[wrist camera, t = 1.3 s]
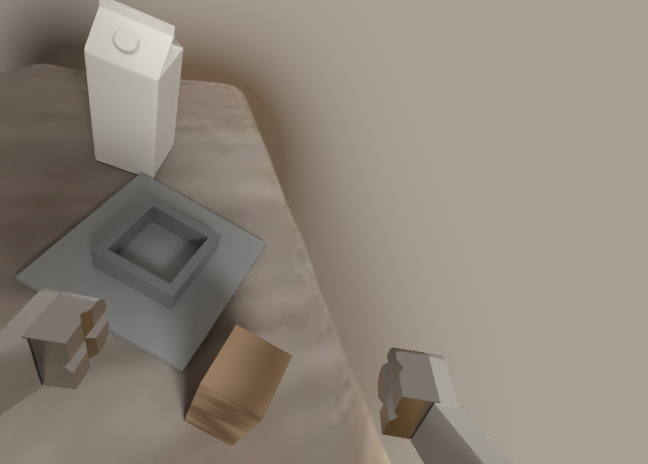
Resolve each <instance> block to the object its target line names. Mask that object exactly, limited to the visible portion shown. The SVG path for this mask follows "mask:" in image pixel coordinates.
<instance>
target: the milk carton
mask: <svg viewBox="0 0 648 464" xmlns="http://www.w3.org/2000/svg"><path fill="white" fill-rule="evenodd" d="M174 30H175V27H174V26H173V25H170V24H168V23H166V22H164V21H161V20H159V19H157V18H154V17H152V16H150V15H147V14H145V13H143V12H140V11H138V10H136V9H133V8H131V7H129V6H126V5H124V4H122V3H119V2H117V1H115V0H99V9H98V11H97V14H96V17H95V20H94V23H93V26H92V28H91V31H90V34H89V37H88V40H87V42H86V45H85V48H84V51H85V52H84V53H85V63H86V74H87V84H88V93H89V103H90V113H91V123H92V132H93V142H94V152H95V159H96V160H98V161H100V162H103V163H106V164H109V165H112V166H115V167H118V168H120V169H123V170H126V171H129V172H132V173H135V174H138V175H139V174H140V173H141V172H143V173H144V174H146V175H148V176H150V177H151V178H154V176H155V175H156V173H157V171H158V170H159V168H160V166H161V165H162V163H163V162H164V160H165V158H166V157H167V155H168V153H169V152H170V150H171V148H172V147H173V144H174V134H175V124H176V114H177V104H178V95H179V85H180V75H181V64H182V55H183V47H182V46H181V45H180V44H179V42H178V41H177V40H176V39H175V37H174Z"/></svg>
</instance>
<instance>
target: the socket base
mask: <svg viewBox="0 0 648 464" xmlns="http://www.w3.org/2000/svg"><path fill="white" fill-rule="evenodd" d="M266 245H267V243H265V242H264V241H262V240H260V239H258V238H257V237H255V236H253V235H251V234H250V233H248V232H246V231H244V230H243V229H241V228H239V227H237V226H236V225H234V224H232V223H230V222H229V221H227V220H225V219H223V218H222V217H220V216H218V215H216V214H215V213H213V212H211V211H209V210H207V209H206V208H204V207H202V206H200V205H199V204H197V203H195V202H193V201H192V200H190V199H188V198H186V197H185V196H183V195H181V194H179V193H178V192H176V191H174V190H172V189H171V188H169V187H167V186H165V185H164V184H162V183H160V182H158V181H157V180H155V179H153V178H151V177H150V176H148V175H146V174H144V173H143V172H141V173H140V174H139V175H137V176H136V177H135V178H134V179H133V180H131V181H130V182H129V183H128V184H127V185H125V186H124V187H123V188H122V189H120V190H119V191H118V192H117V193H116V194H114V195H113V196H112V197H111V198H110V199H108V200H107V201H106V202H105V203H104V204H102V205H101V206H100V207H99V208H98V209H96V210H95V211H94V212H93V213H92V214H90V215H89V216H88V217H87V218H86V219H84V220H83V221H82V222H81V223H80V224H78V225H77V226H76V227H75V228H74V229H72V230H71V231H70V232H69V233H68V234H66V235H65V236H64V237H63V238H62V239H60V240H59V241H58V242H57V243H55V244H54V245H53V246H52V247H51V248H49V249H48V250H47V251H46V252H45V253H43V254H42V255H41V256H40V257H39V258H37V259H36V260H35V261H34V262H33V263H31V264H30V265H29V266H28V267H27V268H25V269H24V270H23V271H22V272H21V273H19V274H18V275H17V276H16V277H15V278H16V280H17V282H18V283H20V284H22V285H24V286H26V287H27V288H29V289H31V290H33V291H35V292H36V293H38V292H39V291H41V290H43V289H45V288H46V289H52V290H57V291H62V292H69V293H74V294H79V295H84V296H89V297H94V298H99V299H103V300H105V304H106V310H105V312H104V313H103V315H104V316H105V317H106V319H107V320H108V324H109V329H108V332H109V333H111V334H113V335H114V336H116V337H118V338H120V339H122V340H124V341H125V342H127V343H129V344H131V345H133V346H134V347H136V348H138V349H140V350H142V351H143V352H145V353H147V354H149V355H151V356H153V357H154V358H156V359H158V360H160V361H162V362H163V363H165V364H167V365H169V366H171V367H173V368H174V369H176V370H178V371H180V372H182V373H183V371H184V370H185V368H186V367H187V365H188V364H189V362H190V361H191V359H192V358H193V356H194V355H195V353H196V352H197V350H198V349H199V347H200V346H201V344H202V343H203V341H204V340H205V338H206V337H207V335H208V334H209V332H210V331H211V329H212V327H213V326H214V324H215V323H216V321H217V320H218V318H219V317H220V315H221V314H222V312H223V311H224V309H225V308H226V306H227V305H228V303H229V302H230V300H231V299H232V297H233V296H234V294H235V293H236V291H237V290H238V288H239V287H240V285H241V283H242V282H243V280H244V279H245V277H246V276H247V274H248V273H249V271H250V270H251V268H252V267H253V265H254V264H255V262H256V261H257V259H258V258H259V256H260V255H261V253H262V252H263V250H264V249H265V247H266Z"/></svg>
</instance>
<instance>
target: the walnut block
mask: <svg viewBox="0 0 648 464" xmlns="http://www.w3.org/2000/svg"><path fill="white" fill-rule="evenodd" d="M291 357H292V355H290V354H288V353H286V352H284V351H283V350H281V349H279V348H277V347H276V346H274V345H272V344H270V343H268V342H267V341H265V340H263V339H261V338H259V337H258V336H256V335H254V334H252V333H250V332H249V331H247V330H245V329H243V328H242V327H240V326H238V325H236V326H235V327H234V329H233V331H232V332H231V334H230V336H229V337H228V339H227V341H226V342H225V344H224V345H223V347H222V349H221V350H220V352H219V354H218V355H217V357H216V358H215V360H214V362H213V363H212V365H211V367H210V368H209V370H208V372H207V373H206V375H205V376H204V378H203V380H202V381H201V383H200V385H199V387H198V390H197V392H196V394H195V396H194V399H193V401H192V403H191V405H190V408H189V410H188V412H187V415H186V417H185V419H184V421H186V422H188V423H190V424H191V425H193V426H195V427H197V428H199V429H201V430H202V431H204V432H206V433H208V434H210V435H212V436H213V437H215V438H217V439H219V440H221V441H223V442H224V443H226V444H228V445H230V446H232V445H234V444H235V443H236V442H237V441H238V440H239V439H240V438H241V437H243V436H244V435H245V434H246V433H247V432H248V431H249V430H250V429H251V428H253V427H254V426H255V425H256V424H257V423H258V422H259V421H260V420H261V419H263V417H264V415H265V413H266V411H267V409H268V407H269V405H270V402H271V400H272V398H273V396H274V394H275V392H276V389H277V387H278V385H279V383H280V381H281V379H282V376H283V374H284V372H285V370H286V368H287V366H288V364H289V361H290V359H291Z"/></svg>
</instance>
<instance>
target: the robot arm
mask: <svg viewBox="0 0 648 464" xmlns="http://www.w3.org/2000/svg"><path fill="white" fill-rule="evenodd" d="M105 310H106V304H105V300H103V299H99V298H94V297H89V296H84V295H79V294H74V293H69V292H62V291H57V290H52V289H46V288H45V289H43V290H41V291H39V292H38V293H37V294H36V295H35V296H34V297H33V298H32V299H31V300H30V301H29V302H28V303H27V304H26V305H25V306H24V307H23V308H22V309H21V310H20V312H19V313H18V314H17V315H16V316H15V317H14V318H13V319H12V320H11V321H10V322H9V323H8V324H7V325H6V326H5V327H4V328H3V329H2V330H1V332H0V415H2V414H3V413H5V412H6V411H8V410H9V409H11V408H12V407H13V406H15V405H16V404H18V403H19V402H21V401H22V400H24V399H25V398H26V397H28V396H29V395H31V394H32V393H34V392H35V391H37V390H38V389H40V388H41V387H42V385H47V386H55V387H63V388H72V389H77V387H78V386H79V384H80V382H81V381H82V379H83V378H84V376H85V375H86V373H87V371H88V370H89V368H90V365H89V359H90V358H92V357H94V356H96V355H97V354H99V352H100V351H101V349H102V347H103V346H104V344H105V341H106V338H107V335H108V329H109V324H108V320H107V319H106V317H105V316H104V315H103V313H104V312H105ZM387 358H388V363H386V364H384V365H383V366H382V368H381V371H380V374H379V379H378V397H379V399H380V400H381V401H382V403H383V407H382V409H381V411H380V418H381V428H382V434H384V435H389V436H394V437H401V438H406V439H411V443H412V444H413V446H414V447H415V449H416V451H417V452H418V454H419V456H420V457H421V459H422V461H423V462H424V464H513V463H512V462H511V461H510V460H509V459H508V458H507V457H506V456H505V454H504V453H503V452H502V451H501V450H500V449H499V448H498V446H497V445H496V444H495V443H494V442H493V441H492V440H491V438H490V437H489V436H488V435H487V434H486V433H485V432H484V430H483V429H482V428H481V427H480V426H479V425H478V424H477V423H476V421H475V420H474V419H473V418H472V417H471V416H470V415H469V414H468V412H467V411H466V410H465V409H464V408H463V407H459V406H458V404H457V400H456V397H455V393H454V390H453V386H452V383H451V379H450V376H449V372H448V369H447V366H446V362H445V359H444V357H443V356H441V355H435V354H429V353H424V352H418V351H411V350H405V349H398V348H392V349H390V351H389V353H388V355H387Z"/></svg>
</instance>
